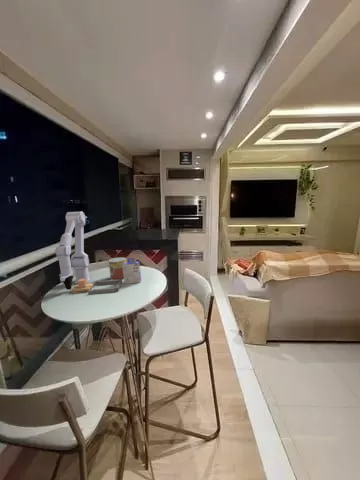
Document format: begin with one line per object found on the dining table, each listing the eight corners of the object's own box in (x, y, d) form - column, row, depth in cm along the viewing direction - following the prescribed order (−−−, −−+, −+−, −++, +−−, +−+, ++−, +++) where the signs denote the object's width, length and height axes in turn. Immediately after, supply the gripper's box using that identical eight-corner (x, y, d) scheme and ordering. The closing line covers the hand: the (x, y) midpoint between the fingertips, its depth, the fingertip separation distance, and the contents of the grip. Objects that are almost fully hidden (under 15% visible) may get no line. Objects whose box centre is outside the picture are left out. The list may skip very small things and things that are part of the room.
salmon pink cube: (80, 285, 150) (79, 279, 149) (87, 284, 150) (86, 278, 149) (78, 288, 146) (77, 281, 145) (85, 287, 146) (84, 280, 145)
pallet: (76, 288, 152) (75, 284, 152) (93, 287, 153) (92, 283, 152) (71, 293, 144) (70, 289, 144) (89, 292, 145) (89, 288, 144)
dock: (95, 283, 157) (95, 280, 157) (122, 281, 158) (122, 278, 158) (87, 295, 140) (87, 291, 140) (117, 292, 141) (117, 288, 141)
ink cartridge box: (141, 279, 160) (139, 257, 157) (140, 282, 154) (138, 259, 152) (125, 280, 159) (123, 258, 157) (124, 284, 154) (121, 260, 151)
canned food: (107, 277, 168) (105, 260, 165) (122, 273, 175) (120, 256, 173) (115, 281, 159) (113, 262, 157) (131, 276, 167) (129, 258, 164)
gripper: (63, 263, 152) (66, 285, 155) (52, 270, 138) (56, 294, 140) (75, 262, 153) (78, 284, 155) (66, 269, 138) (69, 293, 141)
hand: (68, 289), depth 148 cm, fingers closed
